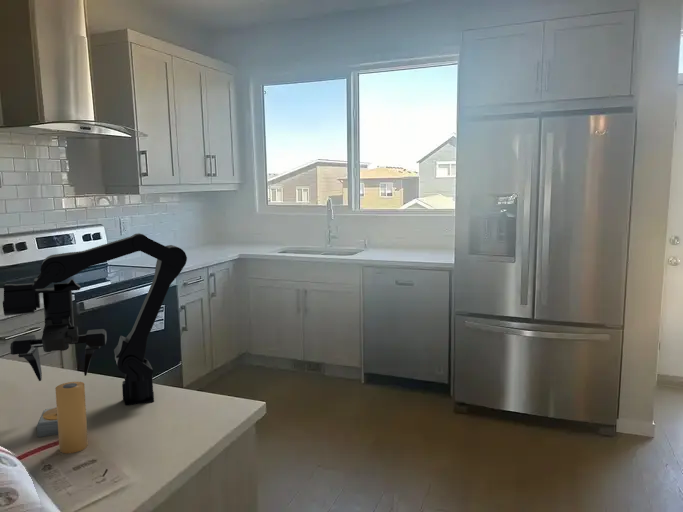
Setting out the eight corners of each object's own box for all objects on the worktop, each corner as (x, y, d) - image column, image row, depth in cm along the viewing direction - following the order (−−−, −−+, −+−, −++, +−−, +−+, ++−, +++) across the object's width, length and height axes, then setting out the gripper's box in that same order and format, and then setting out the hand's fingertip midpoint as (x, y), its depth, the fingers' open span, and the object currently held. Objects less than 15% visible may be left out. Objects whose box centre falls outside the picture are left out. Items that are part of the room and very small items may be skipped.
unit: (85, 415, 117) (84, 402, 117) (80, 431, 110) (80, 416, 109) (44, 421, 114) (43, 407, 114) (37, 437, 107) (36, 422, 106)
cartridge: (89, 439, 106) (85, 379, 104) (86, 450, 101) (82, 388, 100) (61, 443, 104) (57, 382, 102) (57, 455, 99) (53, 391, 98)
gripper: (1, 322, 106) (7, 396, 108) (101, 314, 113) (105, 384, 114) (13, 311, 117) (19, 378, 118) (104, 304, 123) (108, 368, 125)
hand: (63, 377), depth 119 cm, fingers open, 9 cm apart
